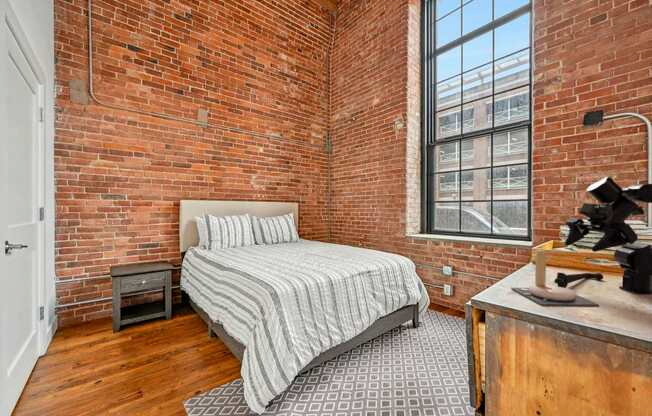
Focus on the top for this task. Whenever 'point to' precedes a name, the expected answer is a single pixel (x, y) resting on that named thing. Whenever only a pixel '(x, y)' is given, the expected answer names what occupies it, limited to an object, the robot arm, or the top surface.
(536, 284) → the beige stand
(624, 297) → the top surface
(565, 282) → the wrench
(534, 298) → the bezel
